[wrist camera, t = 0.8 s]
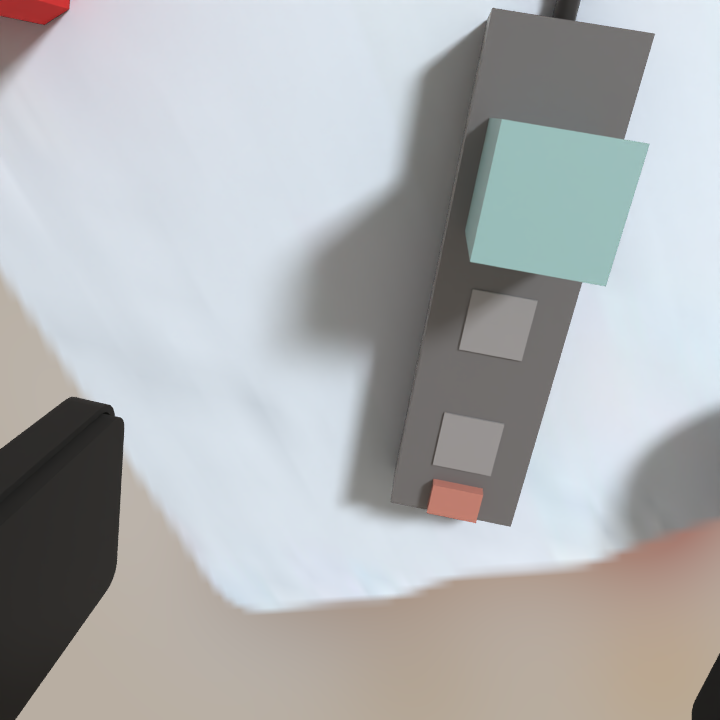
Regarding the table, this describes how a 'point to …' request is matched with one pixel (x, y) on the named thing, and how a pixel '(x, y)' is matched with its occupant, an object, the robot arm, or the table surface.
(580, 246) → the block
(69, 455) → the robot arm
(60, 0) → the french fries
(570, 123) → the power strip
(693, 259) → the table surface
